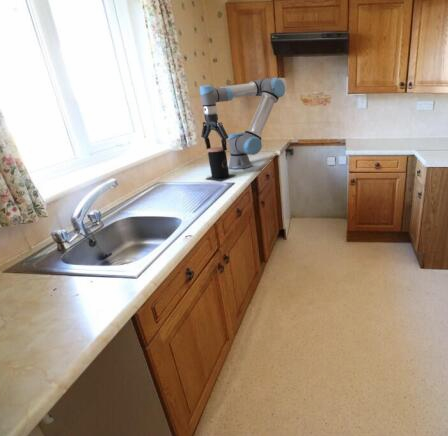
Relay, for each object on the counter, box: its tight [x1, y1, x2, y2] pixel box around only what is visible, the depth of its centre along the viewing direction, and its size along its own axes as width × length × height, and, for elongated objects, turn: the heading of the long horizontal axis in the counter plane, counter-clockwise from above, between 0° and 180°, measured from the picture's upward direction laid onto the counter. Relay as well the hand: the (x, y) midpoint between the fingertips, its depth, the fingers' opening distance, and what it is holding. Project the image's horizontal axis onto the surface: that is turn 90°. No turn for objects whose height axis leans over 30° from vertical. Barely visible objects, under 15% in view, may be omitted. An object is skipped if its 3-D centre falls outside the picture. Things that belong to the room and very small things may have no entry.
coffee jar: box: [206, 146, 230, 179], centre depth 201 cm, size 11×11×18 cm
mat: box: [206, 174, 236, 182], centre depth 205 cm, size 13×13×1 cm
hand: (216, 149), depth 198 cm, fingers open, 13 cm apart
